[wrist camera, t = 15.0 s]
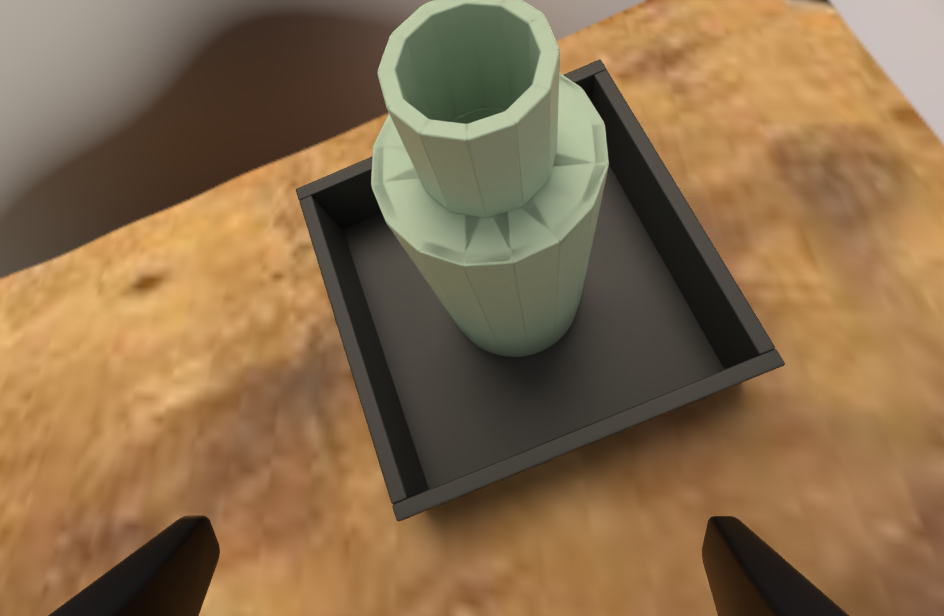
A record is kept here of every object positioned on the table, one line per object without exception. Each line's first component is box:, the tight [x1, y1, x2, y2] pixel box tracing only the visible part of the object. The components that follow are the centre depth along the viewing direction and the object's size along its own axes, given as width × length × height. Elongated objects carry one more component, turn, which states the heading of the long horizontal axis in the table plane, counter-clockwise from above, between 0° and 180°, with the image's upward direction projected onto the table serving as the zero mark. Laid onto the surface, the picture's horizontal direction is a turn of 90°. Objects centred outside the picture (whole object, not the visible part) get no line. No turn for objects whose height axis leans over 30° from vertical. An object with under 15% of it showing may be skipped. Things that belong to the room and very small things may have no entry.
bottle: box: [371, 0, 609, 357], centre depth 16 cm, size 6×6×14 cm
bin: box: [296, 60, 785, 521], centre depth 21 cm, size 14×14×4 cm
